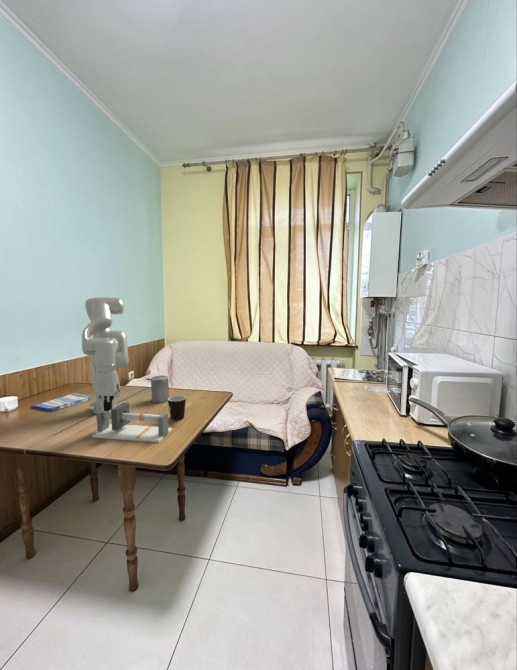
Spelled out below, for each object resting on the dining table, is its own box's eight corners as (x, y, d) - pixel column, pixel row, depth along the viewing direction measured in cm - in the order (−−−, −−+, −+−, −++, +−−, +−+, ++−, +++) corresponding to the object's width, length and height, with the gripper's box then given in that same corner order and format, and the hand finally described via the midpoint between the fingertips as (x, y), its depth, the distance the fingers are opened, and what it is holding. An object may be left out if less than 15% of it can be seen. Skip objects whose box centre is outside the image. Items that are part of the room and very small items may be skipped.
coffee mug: (170, 415, 148) (169, 395, 147) (187, 414, 149) (187, 395, 148) (165, 424, 137) (164, 403, 136) (183, 423, 137) (183, 403, 136)
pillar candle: (160, 396, 177) (159, 372, 175) (172, 399, 173) (171, 374, 171) (148, 401, 168) (146, 376, 167) (160, 404, 164) (159, 378, 162)
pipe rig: (92, 437, 123) (90, 416, 122) (110, 425, 135) (109, 406, 134) (159, 442, 119) (158, 420, 118) (171, 429, 131) (171, 410, 130)
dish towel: (92, 400, 172) (92, 395, 172) (50, 413, 151) (50, 408, 150) (73, 396, 179) (72, 391, 179) (30, 408, 158) (29, 403, 157)
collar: (111, 430, 123) (110, 409, 122) (124, 421, 132) (123, 402, 131) (117, 430, 123) (116, 409, 122) (129, 422, 131) (128, 402, 131)
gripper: (83, 369, 123) (86, 412, 125) (116, 371, 121) (118, 414, 123) (96, 366, 130) (98, 406, 132) (127, 367, 128) (128, 408, 130)
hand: (108, 409), depth 127 cm, fingers closed
